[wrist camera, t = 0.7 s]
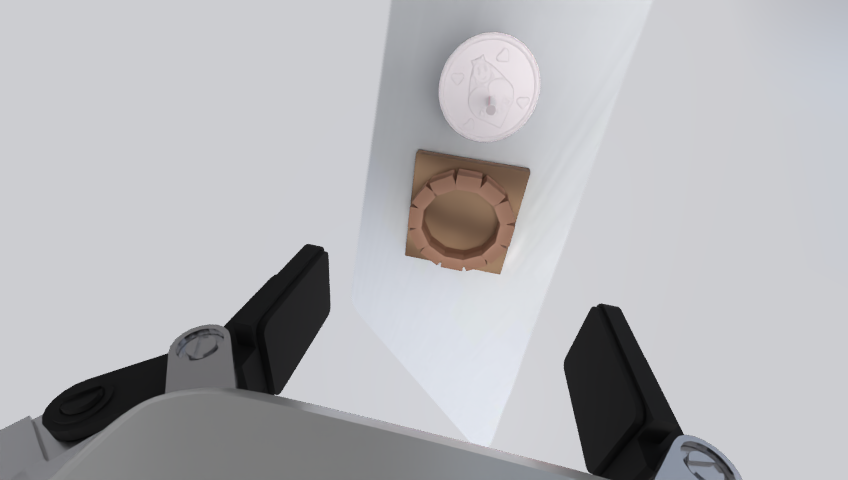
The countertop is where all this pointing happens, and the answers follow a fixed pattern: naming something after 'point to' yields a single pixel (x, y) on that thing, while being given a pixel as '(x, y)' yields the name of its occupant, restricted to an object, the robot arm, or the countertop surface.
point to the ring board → (463, 211)
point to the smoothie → (489, 87)
